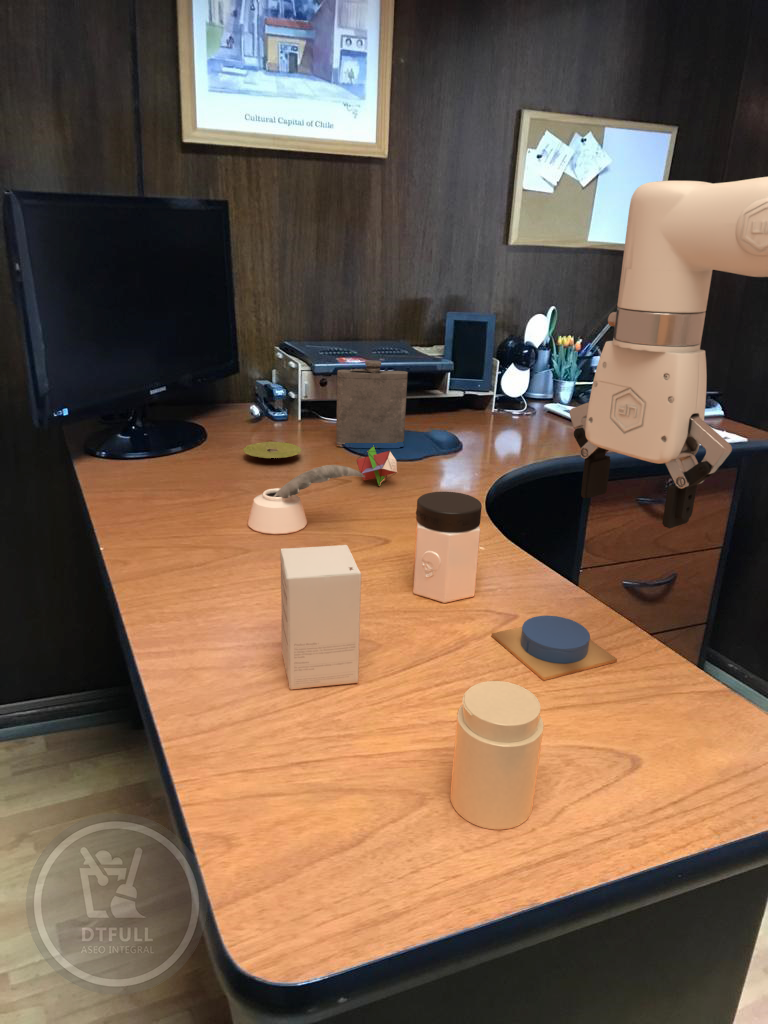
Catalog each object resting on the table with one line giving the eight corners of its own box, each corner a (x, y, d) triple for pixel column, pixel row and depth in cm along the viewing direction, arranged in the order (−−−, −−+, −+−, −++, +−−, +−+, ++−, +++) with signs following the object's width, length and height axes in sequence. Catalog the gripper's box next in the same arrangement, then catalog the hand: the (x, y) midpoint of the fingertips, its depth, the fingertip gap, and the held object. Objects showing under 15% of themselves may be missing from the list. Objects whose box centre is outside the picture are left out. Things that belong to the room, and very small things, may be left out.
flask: (405, 449, 162) (409, 363, 155) (336, 448, 160) (338, 361, 153) (402, 444, 165) (407, 360, 159) (335, 444, 163) (337, 358, 157)
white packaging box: (347, 647, 86) (349, 543, 81) (359, 685, 79) (363, 572, 75) (280, 653, 84) (279, 546, 80) (286, 691, 77) (286, 577, 73)
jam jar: (502, 764, 68) (513, 670, 65) (549, 815, 63) (564, 715, 59) (435, 784, 65) (443, 688, 62) (478, 840, 60) (489, 737, 56)
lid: (546, 669, 83) (548, 654, 82) (507, 636, 89) (508, 622, 88) (601, 655, 86) (604, 640, 85) (559, 625, 92) (561, 610, 91)
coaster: (560, 620, 94) (560, 618, 94) (617, 661, 85) (617, 658, 85) (491, 636, 90) (491, 633, 89) (543, 680, 81) (543, 677, 81)
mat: (312, 456, 154) (312, 447, 153) (279, 470, 144) (279, 460, 144) (265, 447, 159) (265, 438, 158) (231, 460, 149) (231, 451, 148)
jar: (397, 590, 100) (402, 503, 95) (427, 568, 106) (433, 486, 102) (459, 609, 95) (467, 519, 91) (487, 585, 102) (495, 500, 98)
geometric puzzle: (342, 473, 138) (369, 441, 134) (354, 462, 144) (380, 432, 140) (372, 500, 138) (400, 469, 134) (382, 488, 144) (409, 458, 141)
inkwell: (251, 512, 124) (250, 452, 120) (363, 515, 124) (365, 456, 121) (243, 534, 115) (241, 470, 111) (364, 537, 116) (366, 474, 112)
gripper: (556, 322, 74) (540, 491, 80) (720, 345, 61) (686, 546, 67) (608, 319, 78) (589, 480, 84) (772, 340, 65) (736, 529, 71)
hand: (632, 509), depth 75 cm, fingers open, 9 cm apart
